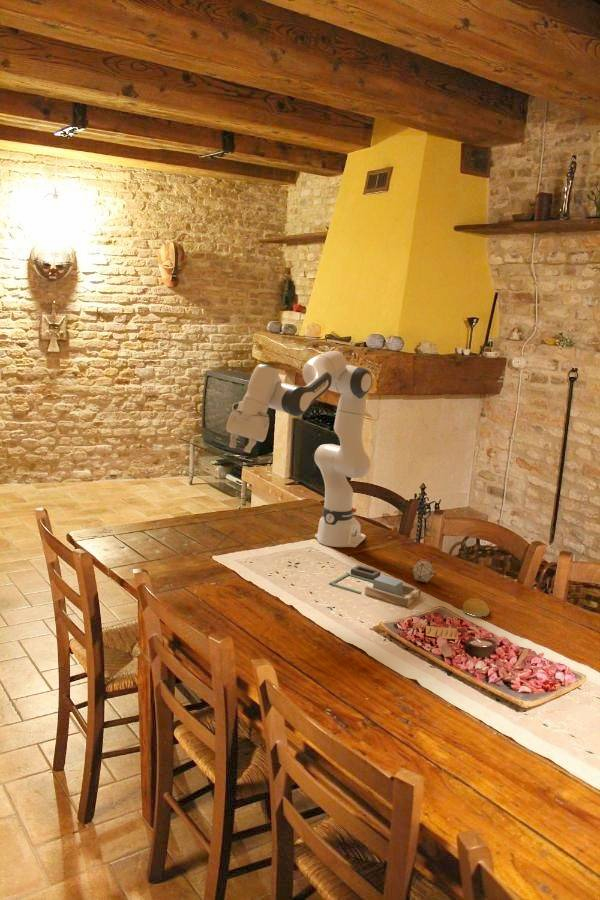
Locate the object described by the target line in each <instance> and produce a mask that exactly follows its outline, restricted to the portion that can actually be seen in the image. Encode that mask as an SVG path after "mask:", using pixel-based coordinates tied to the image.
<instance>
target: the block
mask: <svg viewBox="0 0 600 900" xmlns="http://www.w3.org/2000/svg"><path fill="white" fill-rule="evenodd" d="M372 584H373V585H372V588H375V589H378V590H382V591H385V592H388V593H392V594H395V595H398V596H402V595H403V593H402V590H403V584H404V580H401V579H398V578H394V577H391V576H387V575H384V574H380V576H379V577H377V578H376V579H374V582H373V583H372Z"/></svg>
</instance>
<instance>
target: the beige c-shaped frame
mask: <svg viewBox="0 0 600 900" xmlns="http://www.w3.org/2000/svg"><path fill="white" fill-rule="evenodd" d="M421 593H422V589H421V588H418V587H414V586H410V585H407V584H404V583H403V590H402V594H406V595H405V596H402V595H401V596H398V595H395V594H392V593H388V592H385V591H382V590H378V589H375V588H373V587H371V586H369V585H367V586H365V588H364V595H365V596H366V595H367V596H370V597H372V598H376V599H378V600H379V599H380V600H383V601H385V602H389V603H392V604H396V605H399V606H402V607H405V608H406V607H408V606H409V605H410V604H412V603H413V602H415V601H416V600H417V599H419V598H420V597H421V595H422V594H421Z"/></svg>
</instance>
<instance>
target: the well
mask: <svg viewBox="0 0 600 900" xmlns="http://www.w3.org/2000/svg"><path fill="white" fill-rule="evenodd" d="M350 574H353V575H356V576H360V577H363V578H366V579H370V580H373V581H374V579H376V578H377V577H379V576H381V571H380V570H377V569H372V568H369V567H367V566H362V565H360V564H359V565H356V566H354V567H352V568H351V569H350Z"/></svg>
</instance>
